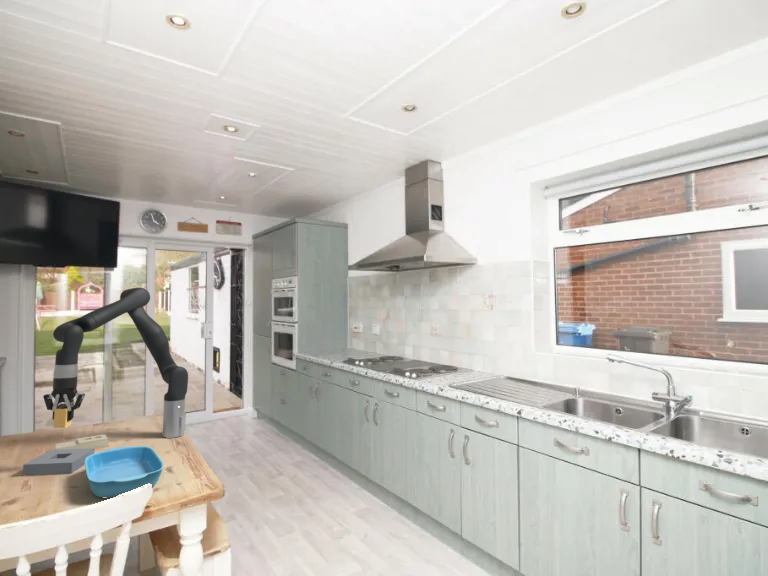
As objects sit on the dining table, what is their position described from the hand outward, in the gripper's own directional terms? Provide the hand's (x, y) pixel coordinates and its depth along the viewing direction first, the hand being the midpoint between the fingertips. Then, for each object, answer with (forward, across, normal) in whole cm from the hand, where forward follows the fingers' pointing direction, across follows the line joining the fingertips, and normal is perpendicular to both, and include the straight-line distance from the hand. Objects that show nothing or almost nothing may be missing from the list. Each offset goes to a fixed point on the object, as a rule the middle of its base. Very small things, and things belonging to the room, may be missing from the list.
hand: (62, 420), depth 161 cm
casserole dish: (+18, -29, +17) cm, 38 cm away
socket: (+18, 0, 0) cm, 18 cm away
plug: (+2, 0, 0) cm, 2 cm away
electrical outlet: (+18, +3, -22) cm, 29 cm away
